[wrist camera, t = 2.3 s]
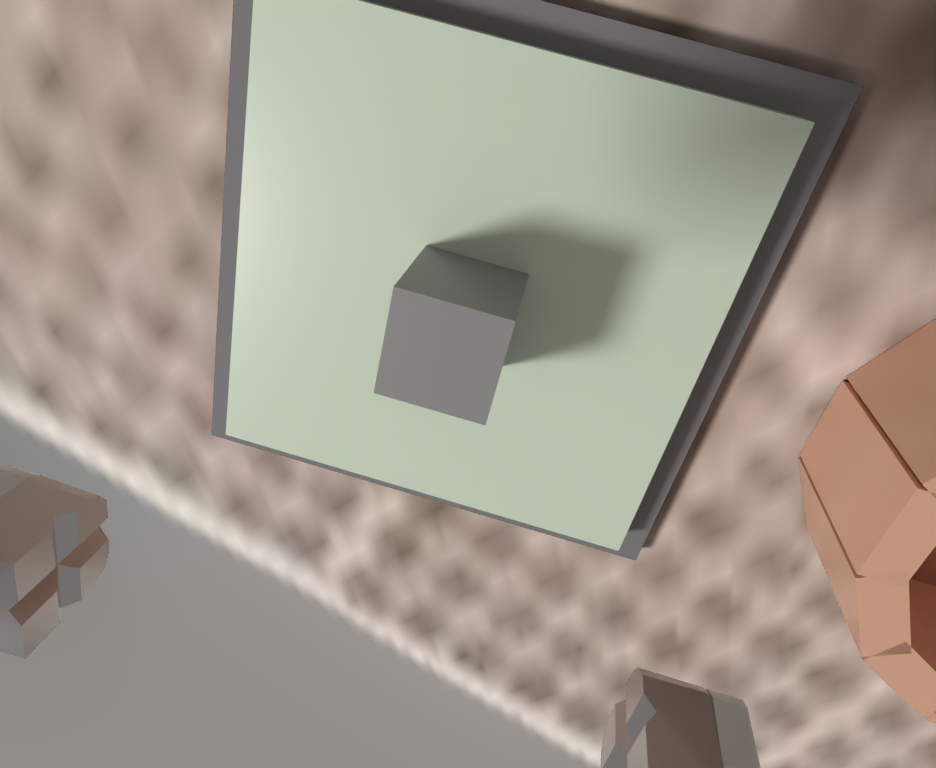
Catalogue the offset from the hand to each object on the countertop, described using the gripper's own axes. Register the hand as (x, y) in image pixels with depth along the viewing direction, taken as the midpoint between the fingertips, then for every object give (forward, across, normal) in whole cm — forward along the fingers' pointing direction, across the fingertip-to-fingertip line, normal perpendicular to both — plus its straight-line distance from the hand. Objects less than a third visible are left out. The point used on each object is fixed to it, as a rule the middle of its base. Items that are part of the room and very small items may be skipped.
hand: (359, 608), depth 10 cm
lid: (+12, +1, 0) cm, 12 cm away
